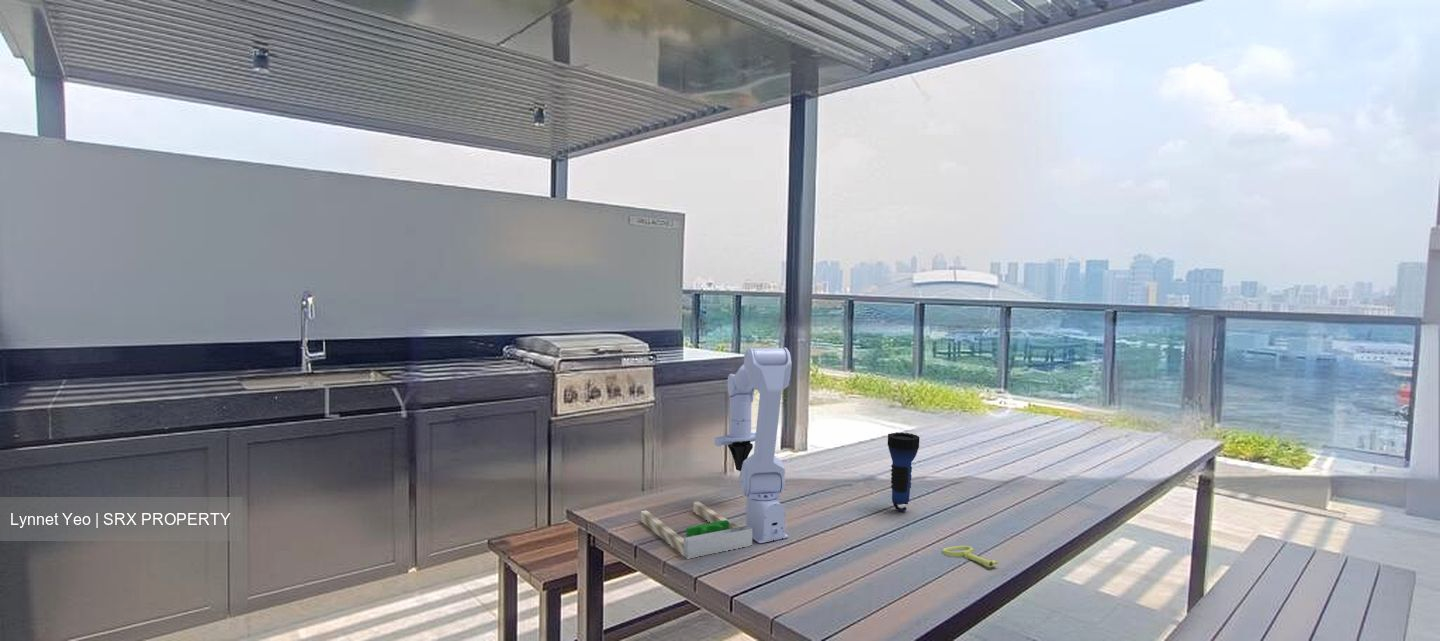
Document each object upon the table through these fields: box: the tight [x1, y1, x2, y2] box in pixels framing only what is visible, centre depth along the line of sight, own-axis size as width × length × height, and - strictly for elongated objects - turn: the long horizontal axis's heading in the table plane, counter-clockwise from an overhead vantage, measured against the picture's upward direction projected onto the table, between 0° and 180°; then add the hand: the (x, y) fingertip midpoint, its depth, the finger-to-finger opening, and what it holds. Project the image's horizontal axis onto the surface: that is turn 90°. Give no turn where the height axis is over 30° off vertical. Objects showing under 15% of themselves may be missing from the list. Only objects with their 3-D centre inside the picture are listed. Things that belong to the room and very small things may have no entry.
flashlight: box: [887, 432, 920, 512], centre depth 168 cm, size 8×8×20 cm
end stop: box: [683, 525, 753, 560], centre depth 140 cm, size 2×16×4 cm, turn 119°
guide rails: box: [640, 501, 740, 557], centre depth 152 cm, size 24×16×2 cm, turn 29°
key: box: [941, 545, 999, 568], centre depth 139 cm, size 7×12×2 cm, turn 40°
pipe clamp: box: [685, 519, 730, 538], centre depth 145 cm, size 10×4×4 cm, turn 120°
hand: (739, 469), depth 171 cm, fingers closed
